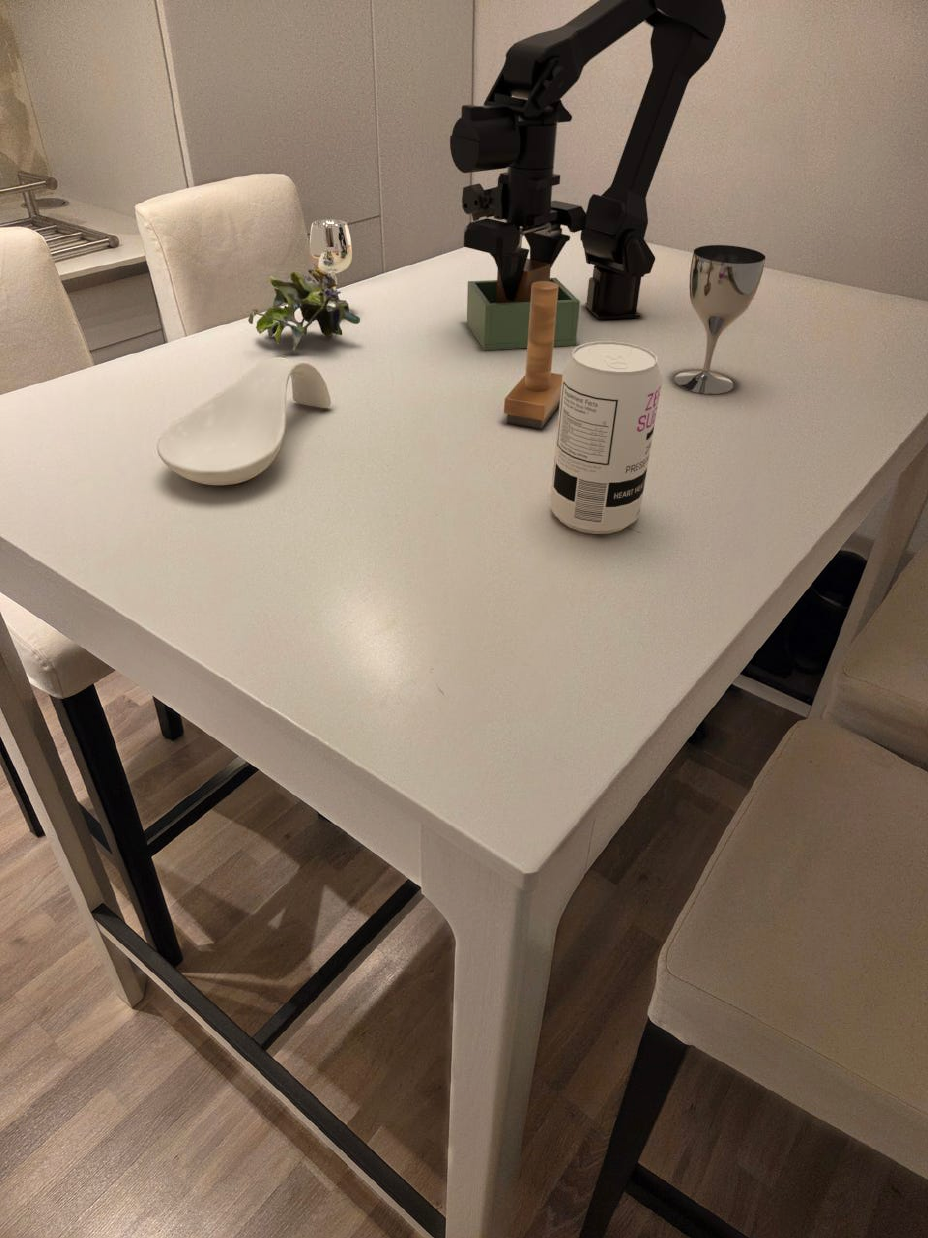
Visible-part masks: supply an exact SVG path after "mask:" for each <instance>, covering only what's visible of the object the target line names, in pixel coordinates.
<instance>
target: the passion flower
mask: <svg viewBox="0 0 928 1238" xmlns="http://www.w3.org/2000/svg"><path fill="white" fill-rule="evenodd" d="M307 272H308V274H310V276H309V275H308V276H307V275H304V274H301V273H300V272H299V271H298V270H293V271H291V272H290V275H288V276H287V278H285V280H286V281H283V280H281V279H277V278H275V277H273V276H272V275H270V277H269V281H270V283H271V285H272V287H273V288H274V289H273V290H274V292H275V294H276V295H275V297H274V298H273V303H272V307H269V308H267V310H266V311H265V312H264V313H260V312H259V310H258V309H256V308H252V311H251V312H250V315H249V317H248V319H247V321H248V323H249V324H250V325H253V323H254V317H256V315H258V316H260V318H258V320H257V321H256V326H255V329H256V331H257V332H258V333H259V334H260V335H261V334H262V333H264V332H265V331H267V336H268V337H269V338H272V337H273V335H274V336H275V337H274V338H275V340H276V343H277V344H278V345H280V343H281V337H282V333H283V331H284V329H285V328H286V327H289V328H290V329H291V338H292V342H293V344H292V349H291V352H290V354H289V355H290V356H292V355H294V352H295V350H296V348H297V347H298V344H299V342H300V341H301V340H302V338H303V337H304V336H305V335H306V334H307V333H308V328H309V327H310V326H311V325H312V323H313V322H315V321H317V324H318V327H319V329H320V332H321V334H322V335H324V336H326V337H329V338H331V337H332V336H333V334H334V335H339V336H343V329H342V328H341V322H342V321H343V320H346V321H348V322H349V323H351V324H353V325H358V324H360V322H361V317H359V316H357V315H355V314H353V313H352V312H351V311H350V309H349V303H348V302H347V300H345V299H340V297H339V295H340V294H341V293H342V291H341V290H340V291H338V289H336V290H334V289H333V288H332V287H335V286H336V287H338V283H337V284H336V281H335V280H334V279H333V278H332V277H331V274H329V273H325V272H323V271H321V270H319V269H318V268H315V270H314V269H311V268H309V269H308V271H307ZM311 276H312V277H313V278H314V279H313V278H312V277H311ZM289 278H290V279H289ZM316 281H317V282H318V284H317V282H316ZM283 304H287V306H286V305H284V307H281V306H282V305H283ZM298 309H299V311H300V314H301V317H302V319H301V321H297V319H296V317H295V312H296V311H297V310H298ZM350 312H351V313H350ZM289 322H290V323H289ZM304 322H307V323H306V325H304ZM291 323H293V324H291ZM294 324H295V325H294Z"/></svg>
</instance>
